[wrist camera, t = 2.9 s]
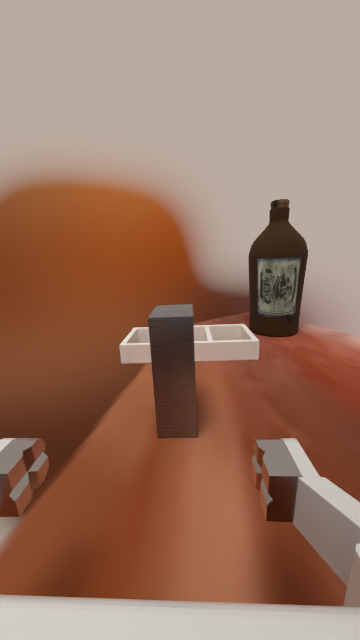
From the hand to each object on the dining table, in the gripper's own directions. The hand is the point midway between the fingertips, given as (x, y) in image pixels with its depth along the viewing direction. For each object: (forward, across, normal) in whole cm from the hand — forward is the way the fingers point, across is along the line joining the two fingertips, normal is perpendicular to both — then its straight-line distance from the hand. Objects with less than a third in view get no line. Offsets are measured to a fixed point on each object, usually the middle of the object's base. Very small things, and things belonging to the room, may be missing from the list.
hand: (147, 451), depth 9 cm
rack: (+30, -1, +8) cm, 31 cm away
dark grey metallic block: (+12, 0, +8) cm, 15 cm away
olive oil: (+40, -19, +8) cm, 45 cm away
